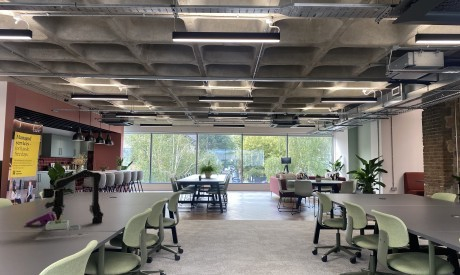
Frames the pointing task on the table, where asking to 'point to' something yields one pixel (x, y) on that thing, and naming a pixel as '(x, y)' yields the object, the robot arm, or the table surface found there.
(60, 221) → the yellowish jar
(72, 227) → the socket block
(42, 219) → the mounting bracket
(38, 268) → the table surface
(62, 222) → the bin
